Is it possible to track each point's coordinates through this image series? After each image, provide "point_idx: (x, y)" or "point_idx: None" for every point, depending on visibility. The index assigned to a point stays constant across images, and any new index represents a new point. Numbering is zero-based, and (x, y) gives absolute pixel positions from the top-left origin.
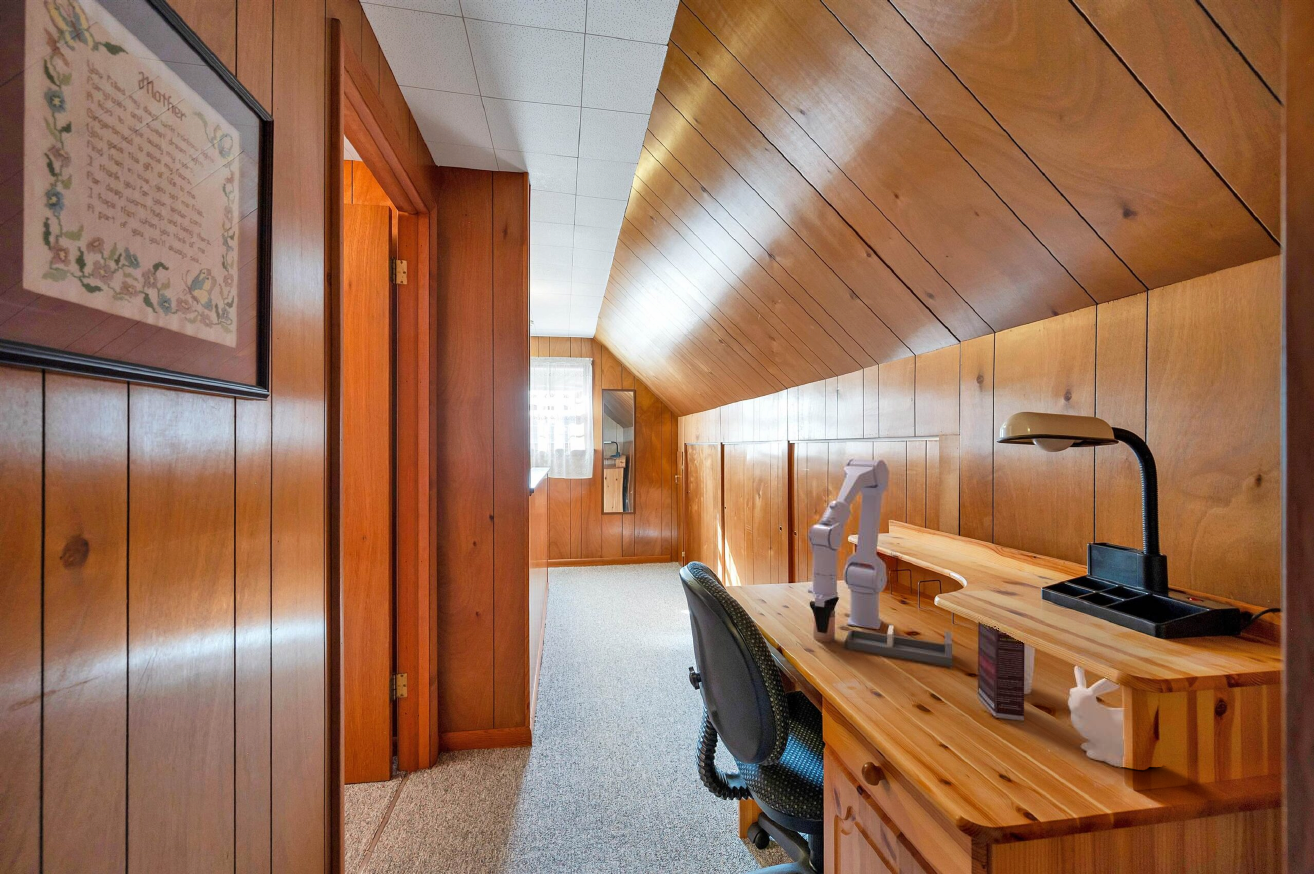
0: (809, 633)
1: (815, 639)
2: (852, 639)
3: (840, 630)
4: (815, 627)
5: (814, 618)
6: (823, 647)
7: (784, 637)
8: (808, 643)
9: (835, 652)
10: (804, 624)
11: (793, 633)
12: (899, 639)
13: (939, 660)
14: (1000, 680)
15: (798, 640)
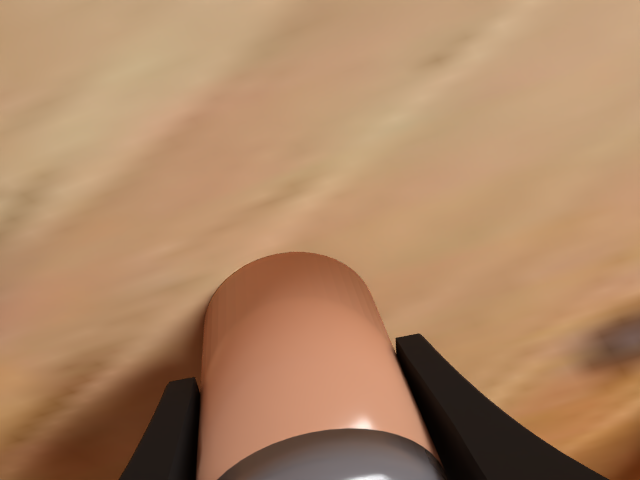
0: (362, 188)
1: (216, 292)
2: None
3: (567, 336)
4: (219, 362)
5: (237, 417)
6: (90, 387)
7: (46, 22)
8: (81, 279)
9: (60, 466)
10: (623, 47)
11: (259, 58)
12: None
13: None
14: None
15: (83, 183)
